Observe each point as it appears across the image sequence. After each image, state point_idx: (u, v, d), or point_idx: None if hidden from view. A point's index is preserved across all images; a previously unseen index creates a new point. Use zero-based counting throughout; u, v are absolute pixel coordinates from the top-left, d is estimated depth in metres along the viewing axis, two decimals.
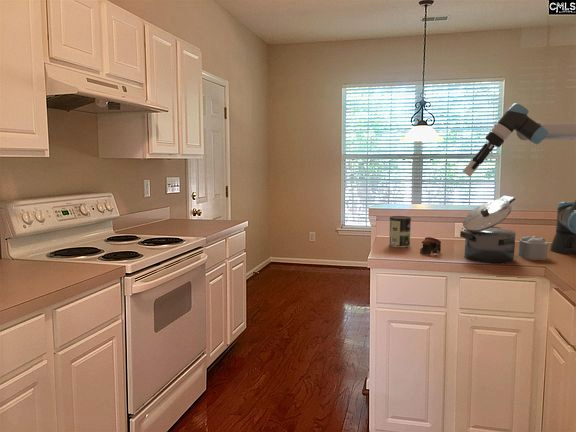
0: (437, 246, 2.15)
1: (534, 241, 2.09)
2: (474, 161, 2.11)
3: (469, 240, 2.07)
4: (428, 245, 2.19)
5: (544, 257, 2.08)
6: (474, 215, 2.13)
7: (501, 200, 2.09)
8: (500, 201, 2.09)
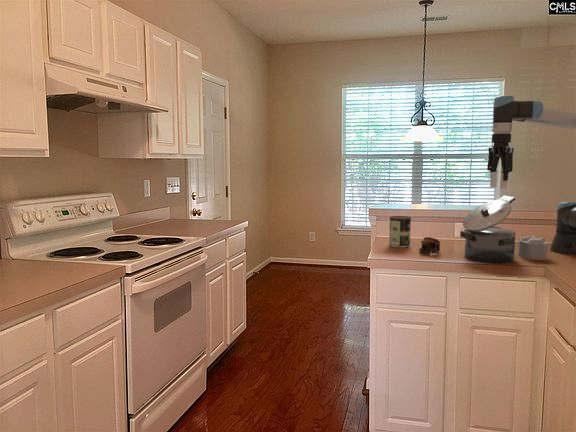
0: (436, 246, 2.15)
1: (534, 241, 2.09)
2: (502, 173, 2.02)
3: (469, 240, 2.07)
4: (427, 245, 2.19)
5: (544, 257, 2.08)
6: (474, 215, 2.13)
7: (501, 200, 2.09)
8: (500, 201, 2.09)
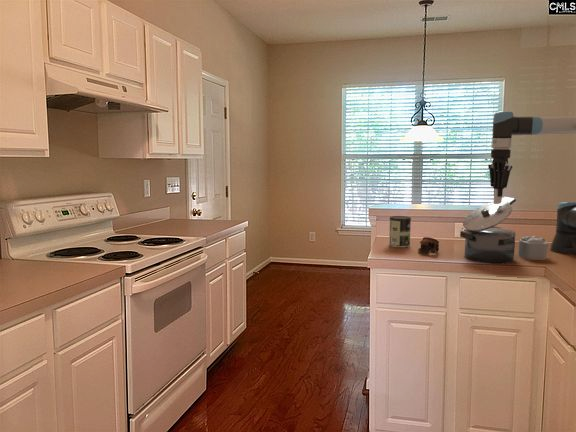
0: (435, 246, 2.15)
1: (534, 241, 2.08)
2: (496, 189, 2.06)
3: (469, 240, 2.07)
4: (426, 245, 2.19)
5: (544, 257, 2.08)
6: (474, 215, 2.13)
7: (502, 202, 2.09)
8: (501, 202, 2.09)
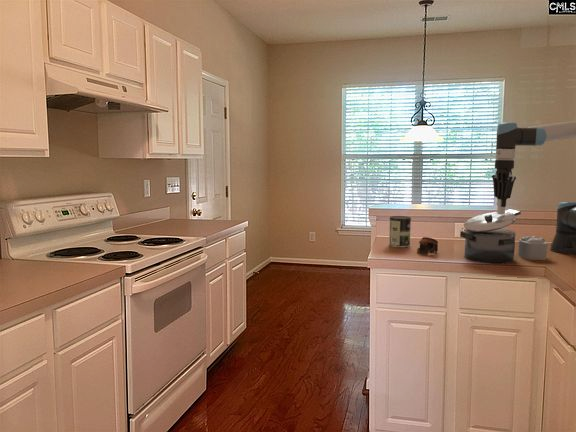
0: (434, 246, 2.15)
1: (534, 241, 2.08)
2: (500, 199, 2.07)
3: (469, 240, 2.07)
4: (425, 245, 2.19)
5: (544, 257, 2.08)
6: (477, 220, 2.13)
7: (506, 212, 2.11)
8: (505, 212, 2.11)
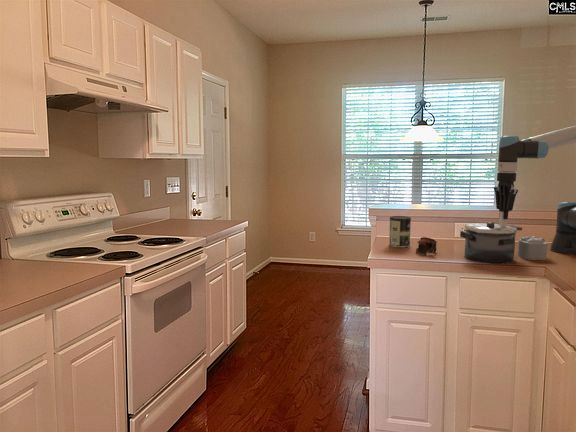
0: (433, 246, 2.15)
1: (534, 241, 2.08)
2: (502, 212, 2.08)
3: (469, 240, 2.07)
4: (424, 245, 2.19)
5: (544, 257, 2.08)
6: (478, 225, 2.14)
7: (508, 226, 2.12)
8: (507, 226, 2.12)
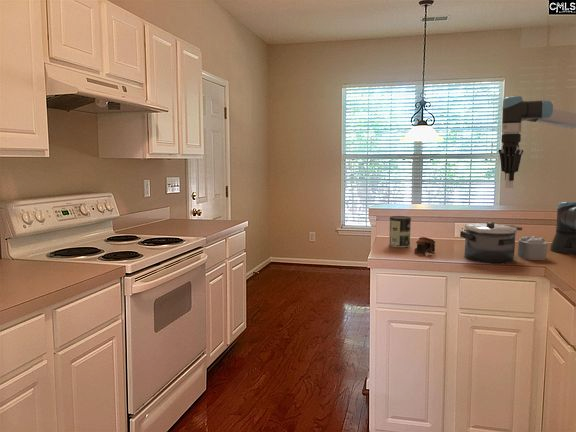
0: (431, 246, 2.15)
1: (534, 241, 2.08)
2: (508, 173, 2.08)
3: (469, 240, 2.07)
4: (422, 245, 2.19)
5: (544, 257, 2.08)
6: (478, 225, 2.14)
7: (508, 226, 2.12)
8: (507, 226, 2.12)
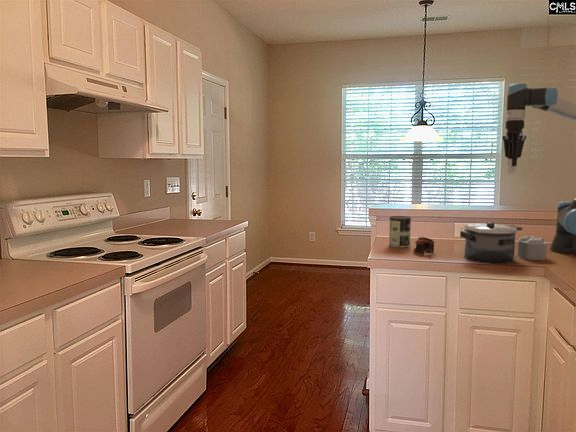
0: (431, 246, 2.15)
1: (533, 241, 2.08)
2: (511, 159, 2.15)
3: (469, 240, 2.07)
4: (422, 245, 2.19)
5: (543, 257, 2.08)
6: (478, 225, 2.14)
7: (508, 226, 2.12)
8: (507, 226, 2.12)
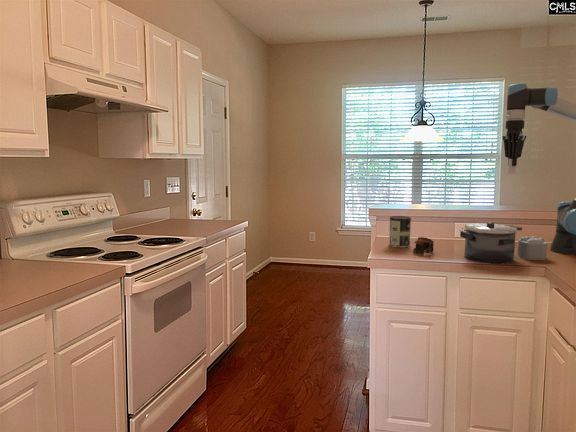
0: (430, 246, 2.15)
1: (533, 241, 2.08)
2: (511, 159, 2.15)
3: (469, 240, 2.07)
4: (421, 245, 2.19)
5: (543, 257, 2.08)
6: (478, 225, 2.14)
7: (508, 226, 2.12)
8: (507, 226, 2.12)
